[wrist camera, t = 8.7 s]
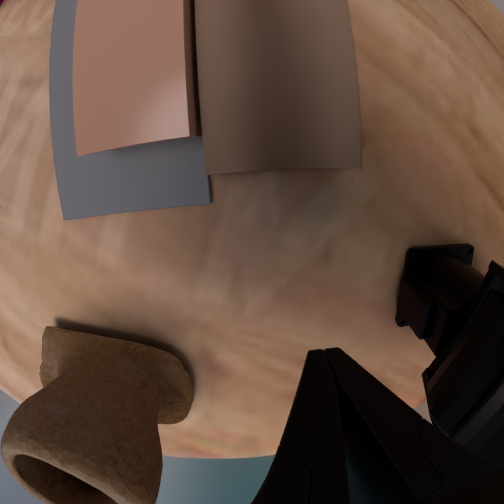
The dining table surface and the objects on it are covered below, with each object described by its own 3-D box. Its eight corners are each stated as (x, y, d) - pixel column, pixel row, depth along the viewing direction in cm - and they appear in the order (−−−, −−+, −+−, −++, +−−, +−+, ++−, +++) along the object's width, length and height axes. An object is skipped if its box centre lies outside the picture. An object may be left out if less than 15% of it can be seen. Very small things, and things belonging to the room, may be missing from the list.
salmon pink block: (183, -41, 9) (78, -9, 9) (189, 136, 12) (77, 156, 13) (196, -10, 12) (107, 11, 13) (203, 136, 16) (110, 150, 16)
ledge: (325, -31, 12) (335, -52, 9) (345, 163, 17) (361, 168, 14) (201, -28, 12) (193, -50, 10) (213, 169, 17) (205, 175, 15)
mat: (196, -47, 12) (195, -51, 11) (211, 201, 18) (210, 203, 18) (60, -4, 12) (56, -6, 11) (68, 218, 18) (64, 220, 18)
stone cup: (198, 322, 21) (150, 520, 8) (194, 416, 26) (172, 554, 12) (34, 288, 21) (-73, 399, 7) (61, 382, 25) (4, 487, 11)
